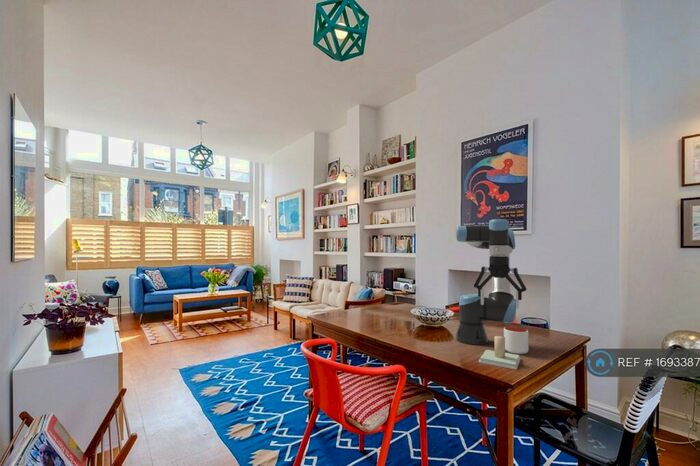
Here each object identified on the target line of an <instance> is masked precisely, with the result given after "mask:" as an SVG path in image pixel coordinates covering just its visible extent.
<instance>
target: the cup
mask: <svg viewBox="0 0 700 466" xmlns="http://www.w3.org/2000/svg"><path fill="white" fill-rule="evenodd" d="M503 337H505V352H507V353H509V354H515V355H525V354H527V353H528V352H529V331H528V329H526V328H523V327H519V326H505V327H503Z"/></svg>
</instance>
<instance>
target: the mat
mask: <svg viewBox="0 0 700 466" xmlns="http://www.w3.org/2000/svg"><path fill="white" fill-rule="evenodd" d="M521 360H522V358H521V357H519V360H518V362H517V365H516V367H510V366H504V365H499V364H494V363H489V362H483V361H480V359H479V360H478V363H479V364H484V365H489V366H495V367H500V368H506V369H511V370H515V371H517V370H518V367H519V364H520V362H521Z"/></svg>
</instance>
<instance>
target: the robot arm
mask: <svg viewBox="0 0 700 466" xmlns="http://www.w3.org/2000/svg"><path fill="white" fill-rule="evenodd" d="M488 222H489V223H488V225H458V226H457V227H456V232H455V235H456V236H455V238H456V240H457V242H460V243H462V242H463V243H467V245H469V246H471V247H472V248H473V247H474V248H476V249H484V250H488V254H489V255H490V256H489V267H488V266H487V267H486V266H481V269H480V270H481V271H480V273H479V275H478V277H477V278H476V280H475V282H474V284H473V288H475V289H477V293H468V294H463V295H460V297H459V304H458V306H459V307H458V309H459V315H458V316H459V320H458V321H459V323H458V324H459V325H458V327H457V330H456V333H455V340H456V341H457V342H460V343H463V344H466V345H467V344H468V345H486V344H488V341H489V339H488V335H487V331H486V328H485V327H484V326H485V325H484V323H485V322H493V323H502V324H513V323H515V321H516V315H517V310H518V309H519V308H520V303H519V302H520V301H522V299H523V298H522V296H523V294H522V293H523V292H526V291H528V289H527V287H526V285H525V283H524V281H523V280H522V277H521V276H520V274H519V271H518V268H517V267H512V268H511V261H510V260H511V259H510V258H511V257H510V254H511V253H512V252H513V251H514V250H515V249H516V241H515V234H514V231H513V229H512V228H510V225H509V220H508V219H506V218H504V219H503V218H501V219H500V218H499V219H498V218H497V219H496V218H494V219H490V220H489V221H488ZM487 271H488V272H489V273H490V274H489V275H488V276H487V277H486V278H485V279H484V280H483V281H482V279H483V276H484V275H485V273H486V272H487ZM511 273H512V274H514V277H515V278H516V280H517V282H518V284H519V285H520V286H519V285H518V284H517V282H515V280H514V279H513V278H512V277H511ZM490 280H491V291H490V292H489V293H488V297H485V290H484V289H485V288H483V287H485V286H486V284H487V283H488V282H489V281H490ZM481 281H482V282H481ZM511 286H513V287H514V289H515V290H516V292H515V295H513V293H511ZM514 296H515V297H514Z"/></svg>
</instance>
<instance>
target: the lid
mask: <svg viewBox="0 0 700 466" xmlns="http://www.w3.org/2000/svg"><path fill="white" fill-rule="evenodd" d="M519 358H520V354H515V353H510V352H506V350H505V337H504V336H502V335H495V336H494V350H490V349H485V351H484V352H483V353H482V355H481V356H480V358H479V360H480V361H483V362H489V363H494V364H499V365H504V366H510V367H516V365H517V362H518V360H519Z"/></svg>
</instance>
